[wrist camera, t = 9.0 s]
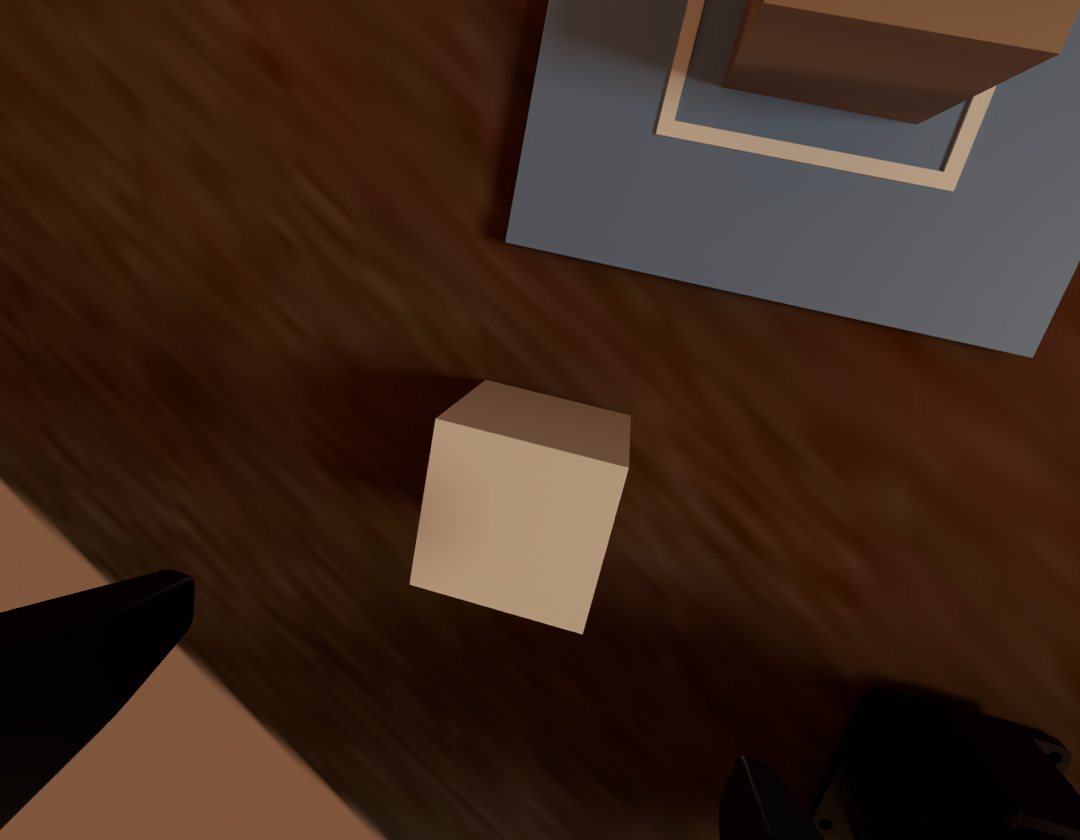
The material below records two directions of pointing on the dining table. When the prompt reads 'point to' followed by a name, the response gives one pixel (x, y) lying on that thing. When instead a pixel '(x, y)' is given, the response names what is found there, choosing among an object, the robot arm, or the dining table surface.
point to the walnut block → (892, 51)
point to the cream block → (521, 502)
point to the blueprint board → (799, 179)
